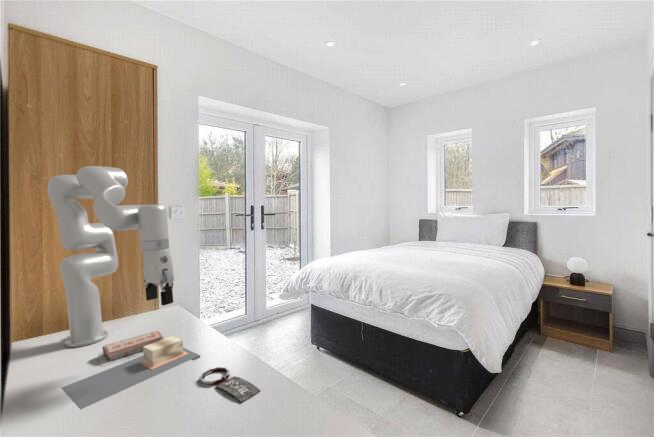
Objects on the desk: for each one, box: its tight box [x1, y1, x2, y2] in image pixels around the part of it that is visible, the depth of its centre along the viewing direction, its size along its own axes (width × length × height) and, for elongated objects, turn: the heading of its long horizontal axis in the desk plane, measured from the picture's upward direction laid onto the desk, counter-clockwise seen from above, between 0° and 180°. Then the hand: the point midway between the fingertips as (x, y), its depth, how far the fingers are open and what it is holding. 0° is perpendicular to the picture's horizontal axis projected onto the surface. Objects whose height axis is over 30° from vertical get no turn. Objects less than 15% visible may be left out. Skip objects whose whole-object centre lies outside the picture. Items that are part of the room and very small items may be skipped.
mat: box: [61, 347, 201, 410], centre depth 90 cm, size 16×30×1 cm, turn 143°
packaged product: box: [97, 330, 165, 368], centre depth 103 cm, size 18×5×10 cm
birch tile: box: [143, 335, 184, 367], centre depth 96 cm, size 9×6×4 cm, turn 142°
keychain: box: [198, 366, 261, 403], centre depth 81 cm, size 8×19×2 cm, turn 51°
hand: (159, 301), depth 95 cm, fingers open, 9 cm apart
